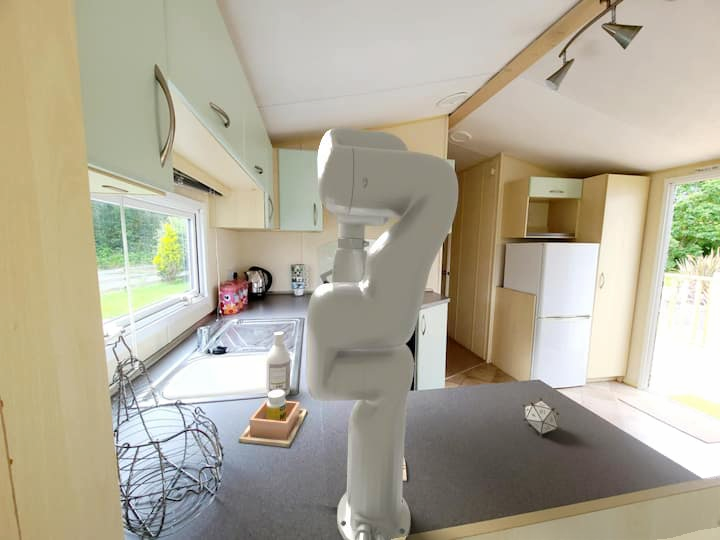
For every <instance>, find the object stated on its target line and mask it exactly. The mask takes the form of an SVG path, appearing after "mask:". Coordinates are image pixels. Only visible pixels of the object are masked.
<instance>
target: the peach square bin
mask: <svg viewBox="0 0 720 540" xmlns="http://www.w3.org/2000/svg"><path fill="white" fill-rule="evenodd" d="M267 402H268V398H267V399H265V400H264V401H263V403H262V404H261V406H260V407H259V408H258V409H257V410H256V411H255V412H254V413H253V415H252V416H251V417H250V419H249V425H250V436H258V437H267V438H277V439H287V438H288V436H289V435H290V433H291V431H292V429H293V427H294V426H295V424H296V422H297V420H298V418H299V412H300V409H301V408H300V406H301V405H300V403H301V402H300V401H290V400H286V417H288V418H287V420H286V421H276V420H265V418H266V417H267Z"/></svg>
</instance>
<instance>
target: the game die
mask: <svg viewBox="0 0 720 540" xmlns="http://www.w3.org/2000/svg"><path fill="white" fill-rule="evenodd" d="M521 405H522V407H524V408H525V410H524V412H525V413H524V414H525V418H522V421H524V422H525V421H526V422H527V426H531V427H533V429H535V431H537V432H538V433H539V437H540V438H543V434H546V433H549V432H552V431H556V430H559V431H562V430H563V429H562V428H561V427H559V423H558V416H559V415H560V413H559V412H555V410H556V408H555V407H550V406H549V405H548V404H547V403H545V402H544V401H543V398H542V396H540V397H539V400H537V401H535V402H533V401H532V402H530V404H523V403H522V404H521Z"/></svg>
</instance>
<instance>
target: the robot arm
mask: <svg viewBox="0 0 720 540" xmlns="http://www.w3.org/2000/svg"><path fill="white" fill-rule="evenodd" d="M317 189H318V195H319V199H320V203H321V205H322V206H323V207H324V208H325V209H326V210H327V211H328V212H330V213H333V215H334V218H336V220H337V222H338V224H337V225H338V228H337V229H338V230H337V249H335V250H334V255H333V261H332V269H330V270H328V271H325V272H324V273H321V274H320V275H319V277H320V279H321V281H322V283H323V284H320V285H319V286H317V287H316V288H315V289H314V291H313V292H312V293H311V296H310V299H309V303H308V306H307V316H306V337H305V338H306V343H305V348H306V349H305V381H306V388H307V391H308V393H309V395H310V396H311V397H312V398H313V399H314V400H316V401H318V402H331V403H332V402H343V401H344V402H345V401H347V402H348V401H356V402H355V404H354V405H353V407H352V409H351V412H350V416H349V419H348V427H347V428H348V429H347V434H348V435H347V467H346V472H347V476H346V491H345V493H344V494H343V495H342V497H341V498H340V499H339V500H340V501H339V503H338V506H337V510H336V521H337V523H336V524H337V528H338V530H339V531H338V532H339V533H340V535H341V538H342V539H343V540H391V539H394V538H399V537H405V536H407V535H408V536H409V534H410V532H411V531H410V530H411V512H410V509H409V506H408V503H407V502H406V500H405V498H404V497H403V485H404V484H403V483H404V481H403V465H404V459H405V457H404V456H405V442H406V441H405V439H406V438H405V437H406V423H407V422H406V420H407V419H406V418H407V411H408V410H407V407H408V402H409V396H410V393H411V392H410V391H411V387H412V383H413V378H414V373H415V371H414V369H415V363H414V356H413V353H412V351H411V349H410V347H409V346H408V345H407V343H408V342H409V341H410V340H411V338H412V336H413V335H414V332H415V329H416V326H417V323H418V319H419V315H420V311H421V308H422V304H423V299H424V296H425V292H426V289H427V285H428V281H429V275H430V272H431V269H432V266H433V264H434V262H435V260H436V258H437V256H438V253H439V251H440V250H441V248H442V246H443V244H444V243H445V241H446V238H447V237H448V234H449V232H450V231H451V228H452V225H453V223H454V220H455V217H456V214H457V213H456V212H457V207H458V202H459V182H458V176H457V173H456V170H455V169H454V168H453V166H452V165H451V163H450V162H448V161H446V160H445V159H443V158H441V157H439V156H437V155H432V154H430V153H429V154H428V153H423V152H419V151H413V150H412V151H410V150H409V149H408V146H407V145H406V143H405V142H404V140H402V138H400V137H398V135H395V134H393V133H390V132H385V131H379V130H378V131H377V130H370V129H369V130H368V129H357V128H348V127H334V128H331V129H329V130H328V131H326V132H325V134H324V136H323V137H322V139H321V142H320V145H319V148H318V153H317ZM393 218H399V219H398V221H396V222H395V223H394V224H393V225H391V226H390V227H388V228H387V229H386V230H385V231H384V232H383V233H382V234H381V235H380V236H379V238H377V240H376V241H375V242H374V243H373V244H372V246H370V241H366V239H365V230H366V229H365V228H366V227H365V226H368V227H382V226H385V225H387V224H388V223H389V222H390V221H391V220H392V219H393ZM367 247H370V249H369V251H367V250H365V248H367ZM329 276H331V281H332V282H330V280H329V281H328V277H329Z"/></svg>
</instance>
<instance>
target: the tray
mask: <svg viewBox="0 0 720 540" xmlns="http://www.w3.org/2000/svg"><path fill="white" fill-rule="evenodd" d="M307 413H308V409H307V408H300V412H299V418H298V420H297V422H296V424H295V426H294V427H293V429H292V431H291V433H290V435H289V436H288V438H287V439H277V438H267V437H258V436H250V424H249V425H248V426H247V427H246V428H245V430H244V431H243V432H242V434H241V435H240V436H239V438H238V443H244V444H254V445H265V446H271V447H280V448H281V447H283V448H290V446H291V444H292V442H293V441H294V438H295V437H296V435H297V433H298V431H299V429H300V427H301V425H302V423H303V422H304V419H305V417H306V415H307ZM287 418H288V417H286V420H287ZM265 420H267V417H266V418H265Z"/></svg>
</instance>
